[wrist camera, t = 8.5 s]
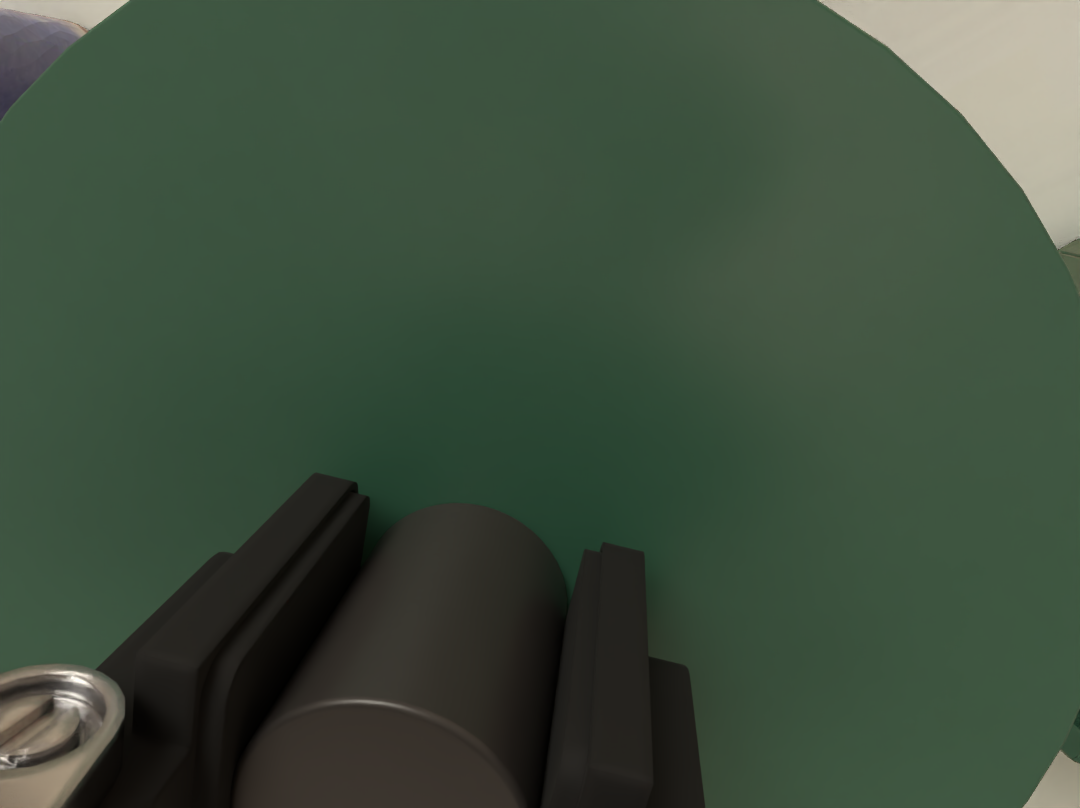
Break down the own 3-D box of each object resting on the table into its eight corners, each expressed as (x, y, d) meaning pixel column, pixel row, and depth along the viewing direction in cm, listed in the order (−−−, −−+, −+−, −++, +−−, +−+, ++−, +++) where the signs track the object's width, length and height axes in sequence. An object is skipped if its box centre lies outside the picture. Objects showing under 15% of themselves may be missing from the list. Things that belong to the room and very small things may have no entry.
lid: (-206, 551, 13) (-690, 781, 8) (397, -437, 8) (76, -1262, 3) (525, 1092, 15) (477, 1526, 10) (1347, 559, 10) (1968, 910, 6)
